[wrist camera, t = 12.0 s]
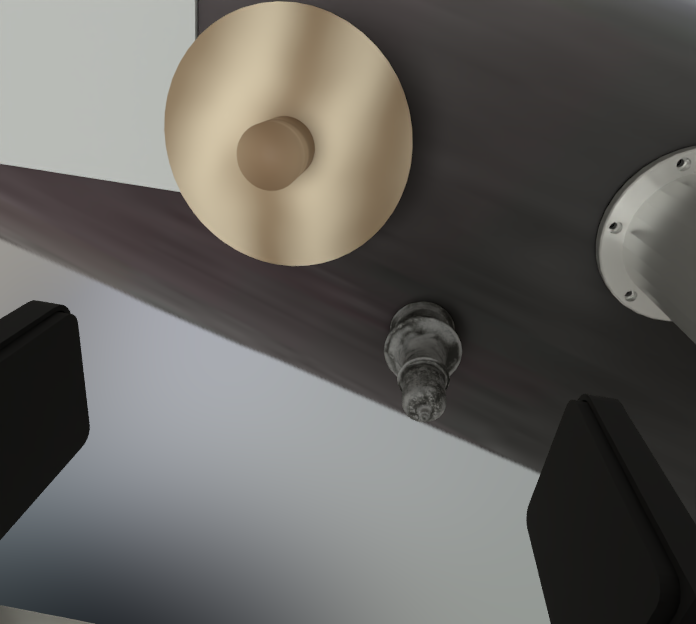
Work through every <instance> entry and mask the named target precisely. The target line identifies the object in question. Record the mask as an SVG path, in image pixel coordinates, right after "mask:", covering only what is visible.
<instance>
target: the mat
mask: <svg viewBox="0 0 696 624" xmlns="http://www.w3.org/2000/svg"><path fill="white" fill-rule="evenodd" d="M196 39H197V0H0V164H6V165H12V166H19V167H25V168H32V169H38V170H44V171H51V172H57V173H63V174H70V175H76V176H82V177H89V178H95V179H102V180H108V181H114V182H121V183H127V184H133V185H140V186H146V187H152V188H159V189H165V190H172V191H178V192H180V189H179V187H178V185H177V183H176V181H175V179H174V176H173V173H172V170H171V167H170V164H169V159H168V155H167V150H166V144H165V133H164V119H165V107H166V101H167V95H168V92H169V88H170V85H171V81H172V78H173V76H174V74H175V71H176V69H177V67H178V65H179V63H180V61H181V59H182V58H183V56H184V55H185V53H186V51H187V50H188V48H189V47H190V46H191V45H192V44H193V42H194V41H195V40H196Z"/></svg>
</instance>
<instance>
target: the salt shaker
mask: <svg viewBox="0 0 696 624" xmlns="http://www.w3.org/2000/svg"><path fill="white" fill-rule="evenodd" d="M384 355H385V360H386V362H387V364H388V366H389V368H390V369H391V371H392V372H393V373H394V374H395V375H396V376H398V377H397V381H398V386H399V388H400V390H401V391H402V406H403V409H404V411H405V413H406V414H407V416H408V417H410V418H411V419H413V420H415V421H418V422H430V421H433V420H435V419H437V418H439V417H440V416H441V415H442V414H443V412H444V410H445V407H446V393H445V391H446V389H447V388H448V386H449V382H450V375H451V374H452V373H453V372H454V371H455V370H456V369H457V367H458V365H459V363H460V361H461V356H462V347H461V342H460V339H459V337H458V335H457V334H456V332H455V328H454V322H453V320H452V318H451V316H450V315H449V313H448V312H447V311H446V310H445V309H443V308H442V307H440V306H439V305H436V304H434V303H431V302H423V301H422V302H414V303H411V304H408V305H406V306H404V307H403V308H401V309H400V310H399V311H398V312H397V313H396V314H395V316H394V317H393V319H392V322H391V325H390V333H389V335H388V337H387V339H386V341H385V347H384Z"/></svg>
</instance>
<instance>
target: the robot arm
mask: <svg viewBox="0 0 696 624" xmlns="http://www.w3.org/2000/svg"><path fill="white" fill-rule="evenodd" d="M680 159H681V163H680V165H678V166H677V162H678V161H679V160H680ZM614 222H615V225H614V227H612V228H609V227H610V225H611V224H612V223H614ZM596 261H597V265H598V269H599V273H600V275H601V277H602V279H603V281H604V283H605V285H606V286H607V288H608V289H609V290H610V291H611V293H612V294H613V295H614V296H615V297H616V298H617V299H618V300H619V301H620V302H621V303H622V304H623V305H624V306H626V307H628V308H629V309H631V310H633V311H634V312H636V313H638V314H641V315H643V316H646V317H649V318H652V319H658V320H664V321H673V322H674V323H675V324H676V325H677V326H678V327H679V328H680V329H681V330H682V331H683V332H684V333H685V334H686V335H687V336H688V337H689V338H690V339H691V340H692V341H693V342H694V343H695V344H696V146H692V147H688V148H683V149H679V150H677V151H675V152H672V153H670V154H667V155H665V156H662V157H660V158H658V159H657V160H655V161H653V162H652V163H650V164H648V165H647V166H645V167H643V168H642V169H641V170H640V171H639V172H637V173H636V174H635V175H634V176H633V177H631V178H630V179H629V180H628V181H627V182H626V183H625V184H624V185H623V186H622V188H621V189H620V190H619V191H618V192H617V193H616V194H615V196H614V197H613V199H612V201H611V202H610V204H609V205H608V207H607V209H606V210H605V213H604V215H603V217H602V220H601V222H600V225H599V228H598V233H597V238H596ZM629 291H630V292H629ZM627 292H629V293H628V294H626V293H627ZM82 364H83V363H82V354H81V346H80V337H79V329H78V322H77V318H76V317H75V316H74V315H73V314H70V311H69V310H68V308H67V307H66V306H64V305H60V304H54V303H48V302H42V301H35V300H33V301H30V302H28V303H26V304H24V305H23V306H21V307H20V308H18V309H16V310H15V311H13V312H11V313H9V314H8V315H6V316H4V317H3V318H1V319H0V540H1V539H2V537H3V536H4V535H5V534H6V533H7V532H8V531H9V529H10V528H11V527H12V526H13V525H14V524H15V523H16V522H17V520H18V519H19V518H20V517H21V516H22V515H23V513H24V512H25V511H26V510H27V509H28V508H29V506H31V504H32V503H33V502H34V501H35V500H36V499H37V497H39V495H40V494H41V493H42V492H43V491H44V490H45V488H46V487H47V486H48V485H49V484H50V483H51V482H52V481H53V479H54V478H55V477H56V476H57V475H58V474H59V473H60V471H61V470H62V469H63V468H64V467H65V466H66V464H67V463H68V462H69V461H70V460H71V459H72V458H73V457H74V456H75V454H76V453H77V452H78V451H79V450H80V449H81V448H82V446H83V445H84V443H85V442H86V440H87V438H88V435H89V430H90V428H89V427H90V425H89V416H88V408H87V398H86V390H85V381H84V372H83V365H82ZM527 529H528V533H529V537H530V541H531V545H532V549H533V553H534V557H535V561H536V565H537V569H538V573H539V577H540V582H541V586H542V590H543V594H544V598H545V602H546V606H547V610H548V614H549V618H550V622H551V624H696V524H695V523H694V521H693V519H692V518H691V516H690V515H689V513H688V511H687V510H686V508H685V506H684V505H683V503H682V502H681V500H680V498H679V497H678V495H677V493H676V492H675V490H674V489H673V487H672V485H671V484H670V482H669V481H668V479H667V477H666V476H665V474H664V472H663V471H662V469H661V468H660V466H659V464H658V463H657V461H656V459H655V458H654V456H653V455H652V453H651V451H650V450H649V448H648V446H647V445H646V443H645V442H644V440H643V438H642V437H641V435H640V434H639V432H638V430H637V429H636V427H635V425H634V424H633V422H632V421H631V419H630V417H629V416H628V414H627V412H626V411H625V409H624V408H623V406H622V404H621V403H620V402H619V401H618V400H616V399H612V398H606V397H600V396H594V395H588V394H583V395H581V396H580V398H579V399H578V401H577V400H571V401H569V403H568V404H567V406H566V409H565V411H564V414H563V416H562V419H561V422H560V424H559V427H558V430H557V432H556V435H555V437H554V440H553V443H552V445H551V448H550V451H549V453H548V456H547V458H546V461H545V464H544V466H543V469H542V472H541V474H540V477H539V480H538V482H537V485H536V487H535V490H534V493H533V495H532V498H531V501H530V503H529V506H528V509H527ZM0 624H93V623H87V622H83V621H78V620H73V619H68V618H62V617H57V616H52V615H47V614H42V613H36V612H32V611H26V610H21V609H16V608H11V607H6V606H1V605H0Z"/></svg>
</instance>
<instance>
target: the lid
mask: <svg viewBox="0 0 696 624" xmlns="http://www.w3.org/2000/svg"><path fill="white" fill-rule="evenodd" d="M164 133H165V144H166V150H167V155H168V159H169V164H170V167H171V170H172V173H173V176H174V179H175V181H176V183H177V185H178V187H179V189H180V192H181V194H182V195H183V197H184V199H185V200H186V202H187V203H188V205H189V207H190V208H191V209H192V211H193V212H194V213H195V215H196V216H197V217H198V218H199V220H200V221H201V222H202V223H203V224H204V225H205V226H206V227H207V228H208V229H209V230H210V231H211V232H212V233H213V234H214V235H216V236H217V237H218V238H219V239H221V240H222V241H223V242H225V243H226V244H228V245H229V246H231V247H232V248H234V249H236V250H237V251H239V252H242V253H244V254H246V255H248V256H250V257H253V258H255V259H258V260H261V261H264V262H269V263H273V264H278V265H288V266H306V265H313V264H320V263H324V262H327V261H331V260H334V259H337V258H339V257H341V256H344V255H346V254H348V253H350V252H352V251H353V250H355V249H357V248H358V247H360V246H361V245H363V244H364V243H365V242H366V241H368V240H369V239H370V238H371V237H373V236H374V235H375V234H376V233H377V231H378V230H379V229H380V228H381V227H382V226H383V225H384V224H385V223H386V221H387V220H388V218H389V217H390V216H391V214H392V213H393V211H394V209H395V208H396V206H397V204H398V202H399V200H400V198H401V196H402V193H403V191H404V188H405V185H406V183H407V179H408V175H409V170H410V166H411V158H412V148H413V143H412V124H411V117H410V111H409V107H408V104H407V100H406V97H405V93H404V91H403V89H402V86H401V84H400V82H399V79H398V77H397V75H396V74H395V72H394V70H393V68H392V67H391V65H390V63H389V62H388V60H387V59H386V58H385V56H384V55H383V54H382V52H381V51H380V50H379V49H378V47H377V46H376V45H375V44H374V43H373V42H372V41H371V40H370V39H369V38H368V37H367V36H366V35H365V34H364V33H362V32H361V31H360V30H358V29H357V28H355V27H354V26H353V25H351V24H350V23H349V22H347V21H346V20H344V19H342V18H340V17H338V16H336V15H335V14H333V13H331V12H328V11H325V10H323V9H320V8H317V7H315V6H311V5H306V4H301V3H296V2H280V1H276V2H267V3H259V4H255V5H251V6H247V7H244V8H241V9H239V10H236V11H234V12H232V13H230V14H227V15H226V16H224V17H222V18H221V19H219V20H218V21H216V22H215V23H213V24H212V25H211V26H209V27H208V28H207V29H206V30H205V31H204V32H203V33H202V34H200V35H199V36H198V38H197V39H196V40H195V41H194V42H193V44H192V45H191V46H190V47H189V48H188V50H187V51H186V53H185V55H184V56H183V58H182V59H181V61H180V63H179V65H178V67H177V69H176V71H175V74H174V76H173V78H172V81H171V85H170V88H169V92H168V95H167V101H166V107H165V119H164Z"/></svg>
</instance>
